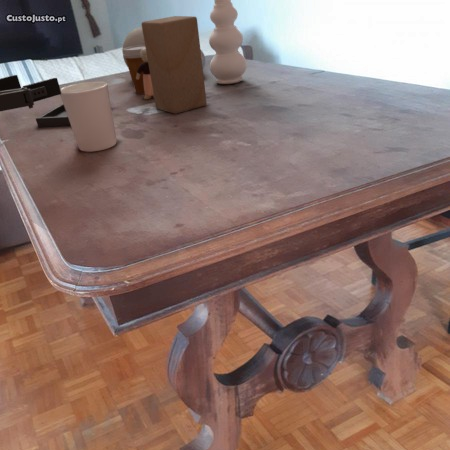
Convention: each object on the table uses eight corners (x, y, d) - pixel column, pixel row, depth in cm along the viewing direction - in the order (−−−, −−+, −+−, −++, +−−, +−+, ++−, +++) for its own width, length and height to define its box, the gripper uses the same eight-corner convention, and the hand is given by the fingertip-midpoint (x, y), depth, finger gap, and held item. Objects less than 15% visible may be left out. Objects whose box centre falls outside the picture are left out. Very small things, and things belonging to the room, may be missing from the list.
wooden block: (175, 114, 118) (160, 23, 106) (155, 108, 125) (140, 22, 113) (207, 105, 122) (197, 16, 111) (187, 100, 129) (175, 15, 118)
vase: (236, 87, 136) (227, -17, 122) (204, 86, 141) (193, -14, 127) (254, 78, 143) (248, -21, 129) (223, 78, 149) (214, -18, 134)
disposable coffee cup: (128, 96, 140) (119, 51, 133) (132, 89, 148) (124, 46, 141) (160, 93, 140) (153, 47, 133) (162, 86, 148) (155, 43, 141)
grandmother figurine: (142, 100, 134) (132, 51, 127) (139, 98, 137) (129, 49, 130) (168, 95, 136) (160, 46, 129) (164, 93, 139) (156, 45, 132)
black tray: (38, 127, 122) (35, 118, 120) (63, 111, 133) (61, 103, 132) (89, 124, 119) (87, 115, 117) (111, 108, 130) (109, 100, 129)
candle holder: (116, 150, 99) (101, 89, 92) (70, 155, 100) (52, 95, 93) (123, 136, 107) (111, 79, 100) (81, 140, 108) (66, 84, 101)
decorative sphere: (125, 77, 166) (116, 28, 158) (167, 70, 169) (160, 22, 160) (130, 84, 154) (119, 32, 146) (175, 77, 157) (167, 25, 148)
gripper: (-95, 129, 86) (10, 100, 98) (-31, 146, 72) (82, 110, 84) (-117, 85, 81) (-4, 60, 94) (-53, 94, 67) (70, 63, 80)
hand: (37, 84), depth 89 cm, fingers open, 13 cm apart
